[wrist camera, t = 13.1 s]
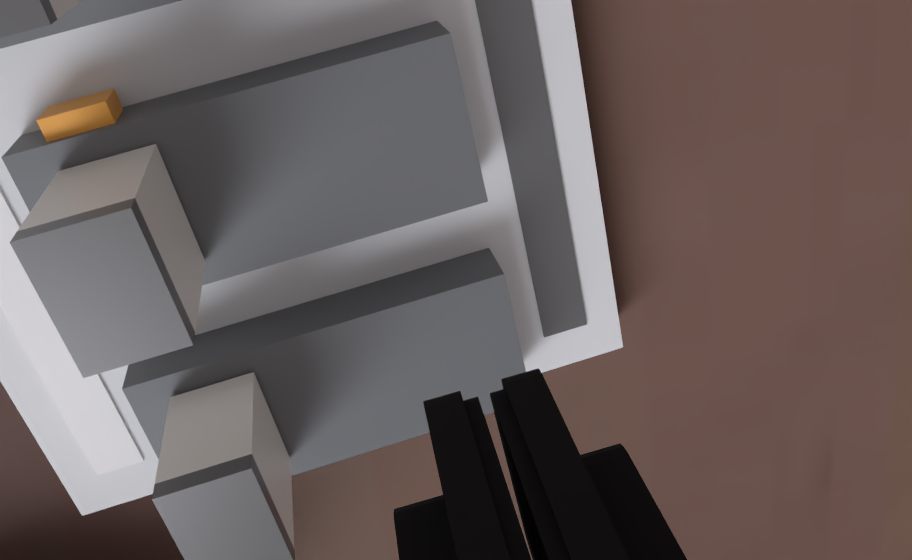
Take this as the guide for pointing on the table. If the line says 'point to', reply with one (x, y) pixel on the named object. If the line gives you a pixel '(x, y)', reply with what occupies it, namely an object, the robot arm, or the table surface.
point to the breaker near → (31, 14)
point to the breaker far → (225, 475)
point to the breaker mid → (114, 261)
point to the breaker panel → (318, 272)
